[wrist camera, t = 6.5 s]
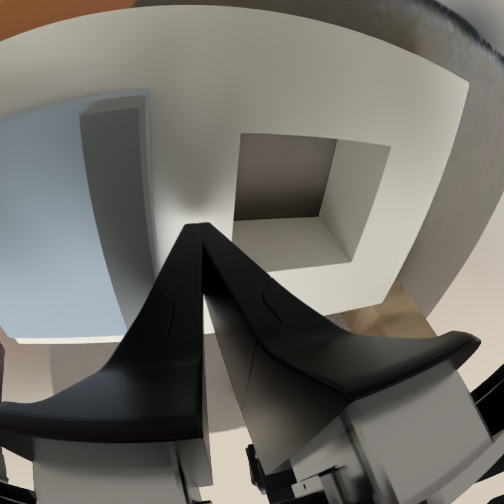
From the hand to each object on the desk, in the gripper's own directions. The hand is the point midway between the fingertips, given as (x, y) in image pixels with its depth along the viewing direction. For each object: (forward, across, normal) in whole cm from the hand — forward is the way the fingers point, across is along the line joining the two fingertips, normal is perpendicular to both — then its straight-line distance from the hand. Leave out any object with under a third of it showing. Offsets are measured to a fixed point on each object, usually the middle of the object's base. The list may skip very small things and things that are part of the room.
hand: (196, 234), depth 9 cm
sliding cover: (+1, +5, 0) cm, 5 cm away
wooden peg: (+5, -14, +11) cm, 19 cm away
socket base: (+5, 0, 0) cm, 5 cm away
